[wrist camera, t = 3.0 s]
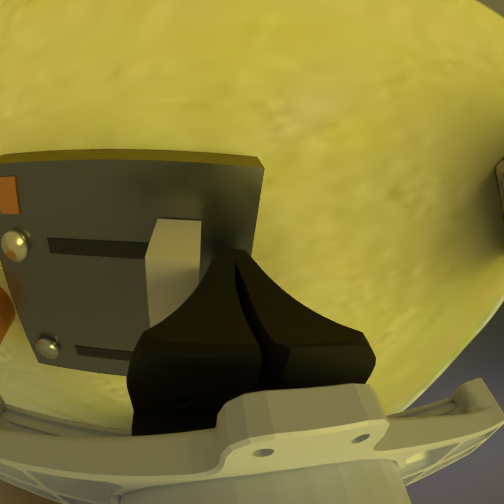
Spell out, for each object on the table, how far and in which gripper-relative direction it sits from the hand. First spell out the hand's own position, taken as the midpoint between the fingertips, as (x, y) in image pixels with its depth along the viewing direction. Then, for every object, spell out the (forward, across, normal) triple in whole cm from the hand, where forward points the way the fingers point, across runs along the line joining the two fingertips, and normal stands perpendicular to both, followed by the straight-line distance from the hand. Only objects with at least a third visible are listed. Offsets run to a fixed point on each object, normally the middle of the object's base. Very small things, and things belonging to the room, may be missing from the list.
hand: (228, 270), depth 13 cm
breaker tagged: (+1, +2, 0) cm, 2 cm away
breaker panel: (+3, +5, +2) cm, 7 cm away
